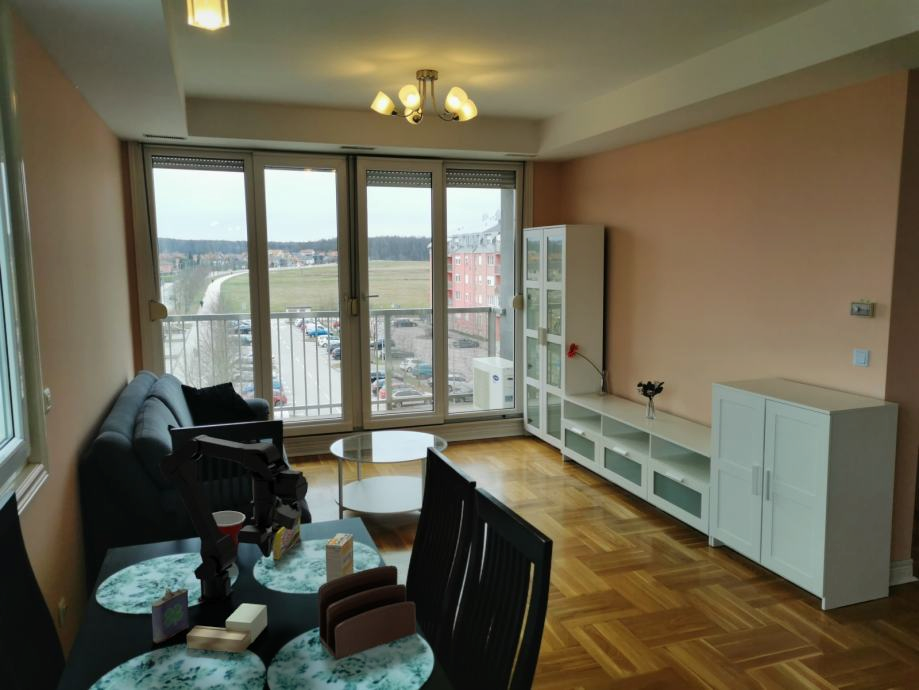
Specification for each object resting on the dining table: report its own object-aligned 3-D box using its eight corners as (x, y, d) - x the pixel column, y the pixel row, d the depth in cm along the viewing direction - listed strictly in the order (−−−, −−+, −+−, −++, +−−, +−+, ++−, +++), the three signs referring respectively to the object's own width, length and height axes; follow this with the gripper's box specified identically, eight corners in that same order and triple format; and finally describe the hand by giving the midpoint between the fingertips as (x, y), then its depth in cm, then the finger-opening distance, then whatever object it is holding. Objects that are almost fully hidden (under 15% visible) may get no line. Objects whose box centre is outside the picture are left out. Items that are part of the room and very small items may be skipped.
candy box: (279, 560, 195) (278, 532, 194) (272, 559, 195) (271, 532, 194) (301, 538, 211) (300, 512, 210) (294, 537, 211) (293, 512, 210)
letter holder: (318, 640, 153) (317, 581, 152) (396, 615, 164) (395, 560, 162) (335, 661, 145) (334, 599, 143) (416, 634, 156) (416, 575, 154)
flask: (157, 644, 151) (155, 599, 150) (149, 641, 153) (146, 596, 152) (192, 625, 159) (189, 582, 158) (183, 622, 161) (181, 579, 160)
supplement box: (343, 595, 174) (342, 546, 172) (326, 593, 175) (324, 544, 173) (354, 580, 182) (353, 533, 181) (338, 578, 183) (336, 532, 181)
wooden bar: (187, 647, 150) (186, 634, 150) (197, 638, 154) (196, 625, 154) (242, 653, 148) (241, 639, 148) (250, 643, 152) (250, 629, 151)
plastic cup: (237, 565, 192) (235, 524, 190) (200, 563, 193) (198, 522, 191) (253, 549, 202) (251, 510, 201) (218, 547, 204) (216, 509, 202)
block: (226, 641, 153) (225, 620, 152) (243, 623, 161) (242, 603, 160) (251, 644, 152) (250, 622, 151) (267, 625, 160) (266, 605, 159)
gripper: (278, 511, 155) (280, 576, 157) (311, 485, 174) (312, 544, 175) (234, 508, 157) (236, 572, 159) (271, 483, 176) (272, 540, 178)
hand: (267, 556), depth 168 cm, fingers closed
